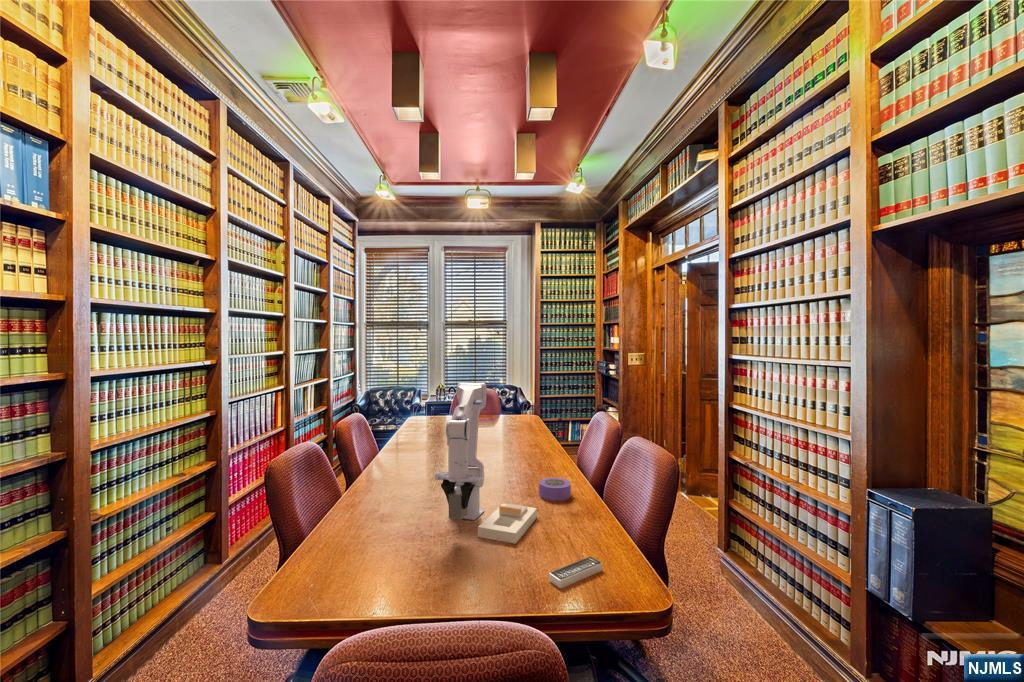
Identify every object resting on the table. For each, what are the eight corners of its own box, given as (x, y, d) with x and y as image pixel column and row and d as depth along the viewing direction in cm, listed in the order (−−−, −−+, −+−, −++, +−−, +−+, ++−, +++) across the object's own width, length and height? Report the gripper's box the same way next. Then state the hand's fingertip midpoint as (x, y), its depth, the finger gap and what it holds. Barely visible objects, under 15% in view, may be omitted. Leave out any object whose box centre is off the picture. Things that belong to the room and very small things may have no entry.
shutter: (499, 514, 142) (499, 506, 142) (507, 506, 149) (507, 498, 149) (520, 517, 140) (520, 509, 140) (527, 509, 146) (527, 501, 146)
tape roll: (577, 497, 167) (577, 483, 167) (552, 503, 160) (552, 489, 160) (556, 488, 176) (556, 475, 176) (532, 494, 170) (532, 480, 170)
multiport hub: (548, 581, 110) (548, 572, 110) (590, 564, 118) (590, 555, 118) (560, 590, 106) (560, 580, 106) (602, 571, 115) (602, 562, 115)
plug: (448, 517, 131) (448, 494, 131) (455, 512, 135) (455, 489, 135) (460, 519, 130) (460, 495, 129) (467, 514, 133) (467, 491, 133)
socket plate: (477, 536, 133) (477, 526, 133) (503, 512, 152) (503, 503, 152) (515, 543, 129) (515, 533, 129) (536, 517, 148) (537, 508, 148)
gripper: (429, 461, 131) (429, 508, 131) (474, 467, 126) (474, 515, 126) (441, 455, 137) (441, 499, 138) (484, 460, 132) (484, 506, 132)
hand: (458, 506), depth 132 cm, fingers closed on plug, 4 cm apart
